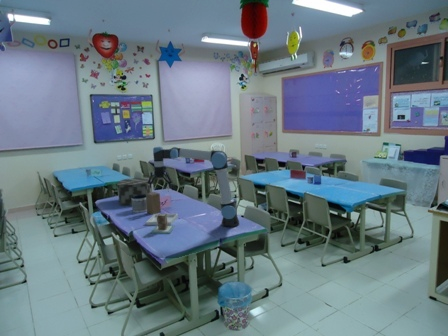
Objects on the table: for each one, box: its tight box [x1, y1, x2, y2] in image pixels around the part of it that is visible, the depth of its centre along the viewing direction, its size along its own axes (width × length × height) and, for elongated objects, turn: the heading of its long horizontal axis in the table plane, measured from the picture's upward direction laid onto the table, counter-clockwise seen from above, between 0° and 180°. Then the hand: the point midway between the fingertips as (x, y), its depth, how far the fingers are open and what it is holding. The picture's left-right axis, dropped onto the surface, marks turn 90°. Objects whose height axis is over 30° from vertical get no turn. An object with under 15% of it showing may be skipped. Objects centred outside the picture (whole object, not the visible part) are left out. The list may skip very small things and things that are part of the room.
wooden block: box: [146, 191, 162, 215], centre depth 318 cm, size 10×10×20 cm
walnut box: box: [157, 213, 169, 230], centre depth 269 cm, size 6×6×12 cm
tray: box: [145, 213, 179, 226], centre depth 293 cm, size 22×24×4 cm
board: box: [150, 225, 176, 235], centre depth 271 cm, size 16×16×1 cm
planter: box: [131, 195, 147, 214], centre depth 329 cm, size 16×16×14 cm
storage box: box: [116, 177, 153, 207], centre depth 365 cm, size 35×35×23 cm
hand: (160, 191), depth 265 cm, fingers open, 13 cm apart
